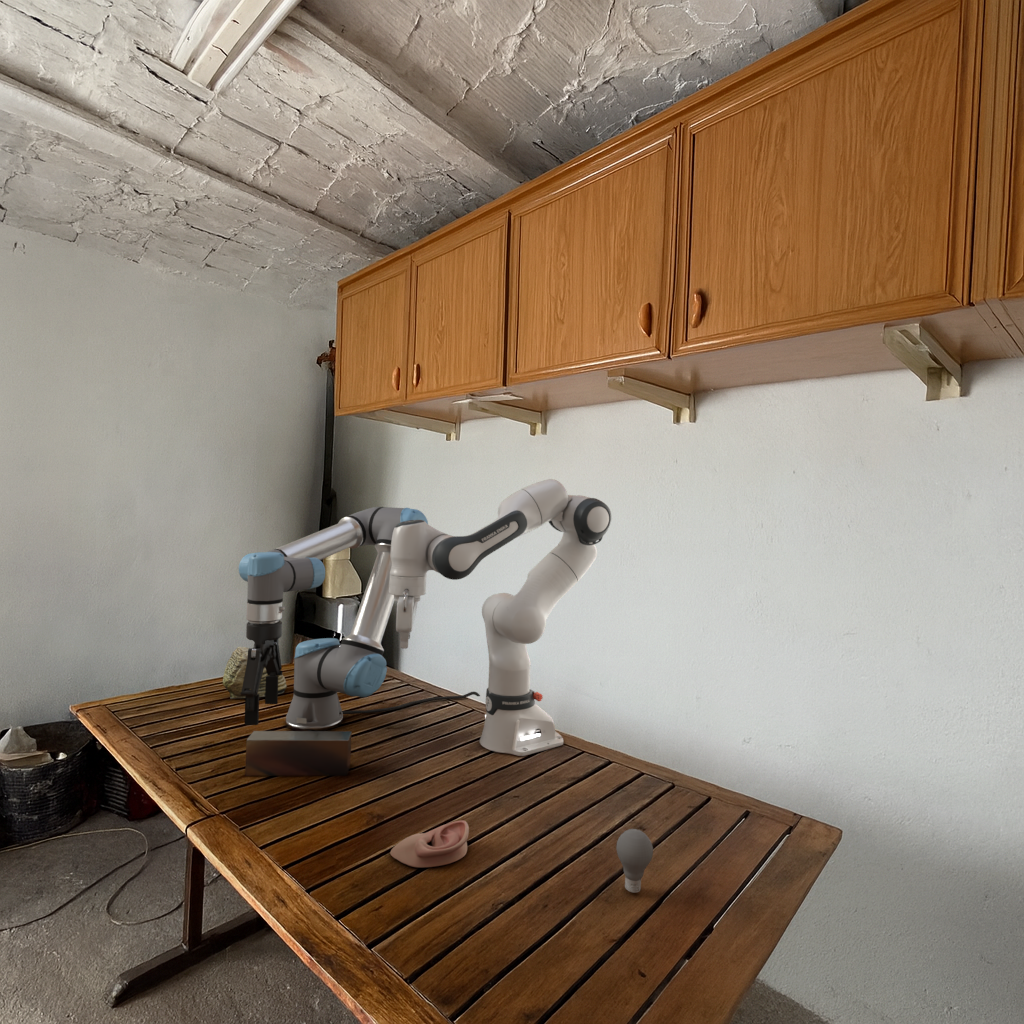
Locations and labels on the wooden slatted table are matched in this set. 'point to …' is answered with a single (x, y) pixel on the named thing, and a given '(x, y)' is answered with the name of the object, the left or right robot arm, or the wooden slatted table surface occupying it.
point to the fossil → (237, 672)
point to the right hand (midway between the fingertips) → (405, 643)
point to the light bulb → (634, 857)
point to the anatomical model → (434, 846)
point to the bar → (298, 753)
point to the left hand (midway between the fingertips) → (261, 713)
